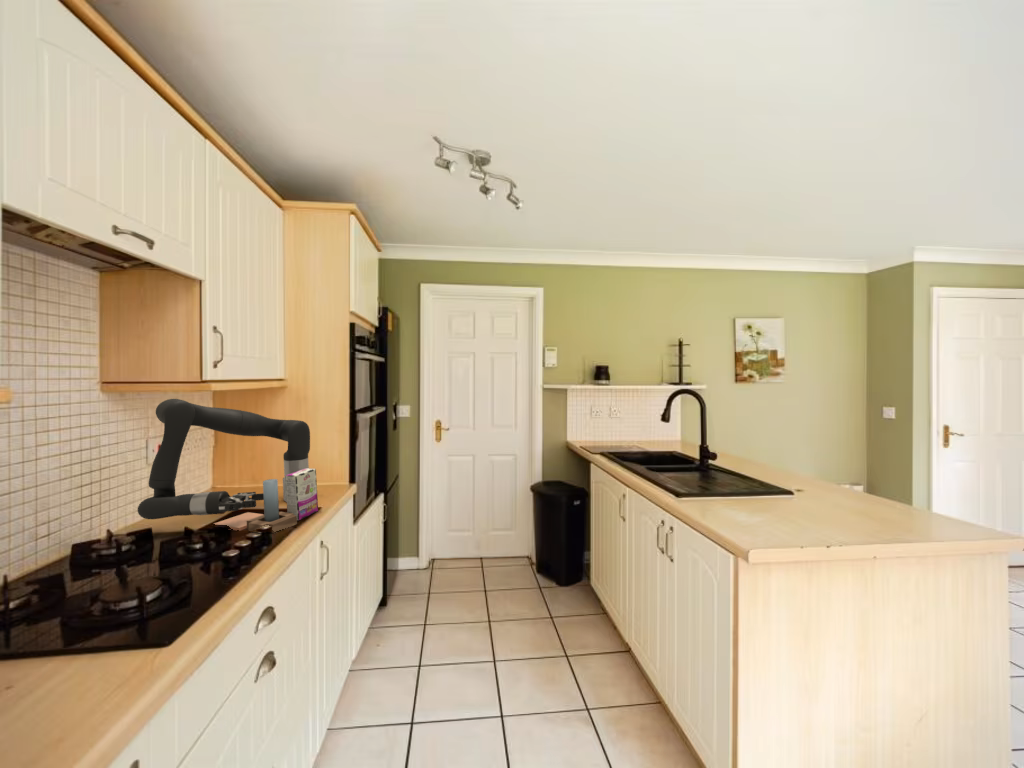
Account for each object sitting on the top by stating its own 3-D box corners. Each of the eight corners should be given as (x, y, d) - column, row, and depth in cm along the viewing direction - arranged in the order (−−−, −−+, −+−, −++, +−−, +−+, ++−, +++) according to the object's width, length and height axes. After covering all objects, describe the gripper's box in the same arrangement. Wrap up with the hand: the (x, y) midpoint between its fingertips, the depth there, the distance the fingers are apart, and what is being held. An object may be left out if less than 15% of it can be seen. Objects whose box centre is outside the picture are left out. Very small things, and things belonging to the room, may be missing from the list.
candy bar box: (307, 510, 170) (305, 468, 169) (318, 511, 169) (316, 468, 168) (286, 520, 159) (284, 475, 158) (298, 521, 158) (296, 475, 157)
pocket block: (242, 530, 149) (242, 522, 149) (274, 519, 161) (274, 510, 160) (269, 535, 144) (268, 526, 144) (300, 522, 156) (300, 514, 156)
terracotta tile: (213, 526, 154) (213, 523, 154) (247, 514, 166) (247, 512, 166) (239, 530, 149) (239, 527, 149) (272, 518, 161) (272, 515, 161)
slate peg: (261, 528, 151) (259, 481, 151) (273, 523, 155) (271, 478, 155) (271, 529, 150) (269, 482, 149) (282, 525, 154) (280, 479, 153)
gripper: (197, 498, 142) (251, 494, 145) (220, 486, 157) (269, 483, 159) (198, 521, 143) (252, 517, 145) (221, 507, 157) (270, 504, 159)
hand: (261, 500), depth 152 cm, fingers open, 8 cm apart
